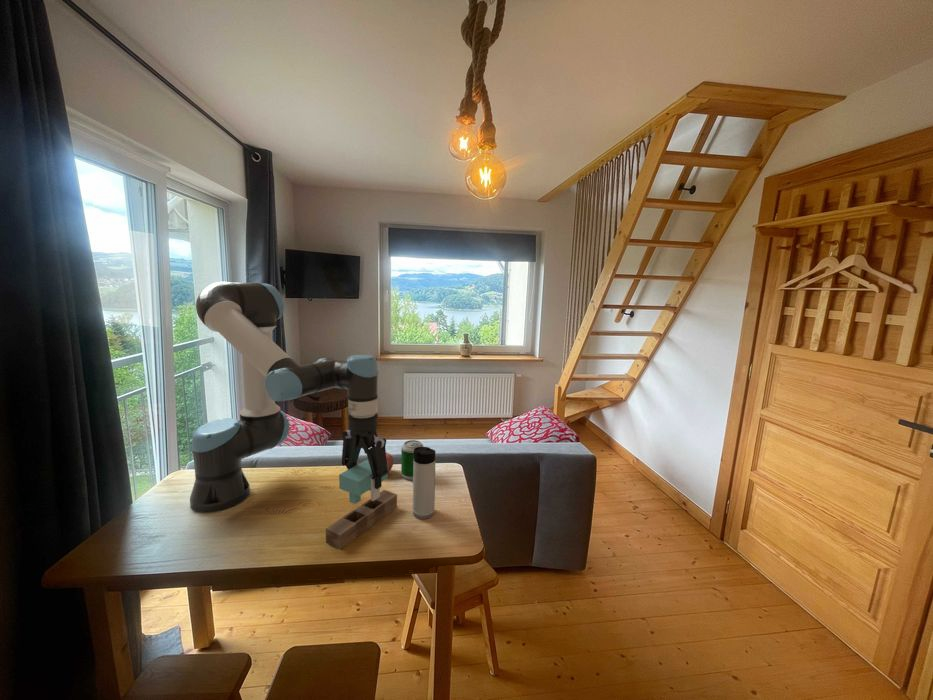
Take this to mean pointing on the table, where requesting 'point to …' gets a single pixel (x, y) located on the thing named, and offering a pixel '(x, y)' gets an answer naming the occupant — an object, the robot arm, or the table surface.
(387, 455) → the apple
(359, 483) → the teal footed block
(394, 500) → the rail
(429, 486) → the travel mug
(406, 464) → the soda can
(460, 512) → the table surface
